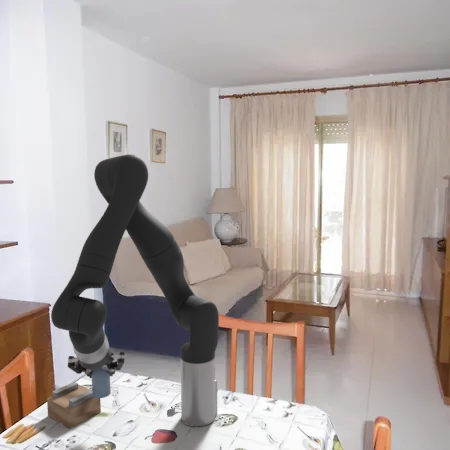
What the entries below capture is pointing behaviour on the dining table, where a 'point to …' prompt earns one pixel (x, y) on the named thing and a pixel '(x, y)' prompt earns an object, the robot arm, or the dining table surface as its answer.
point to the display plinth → (70, 412)
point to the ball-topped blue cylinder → (100, 383)
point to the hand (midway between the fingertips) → (101, 373)
